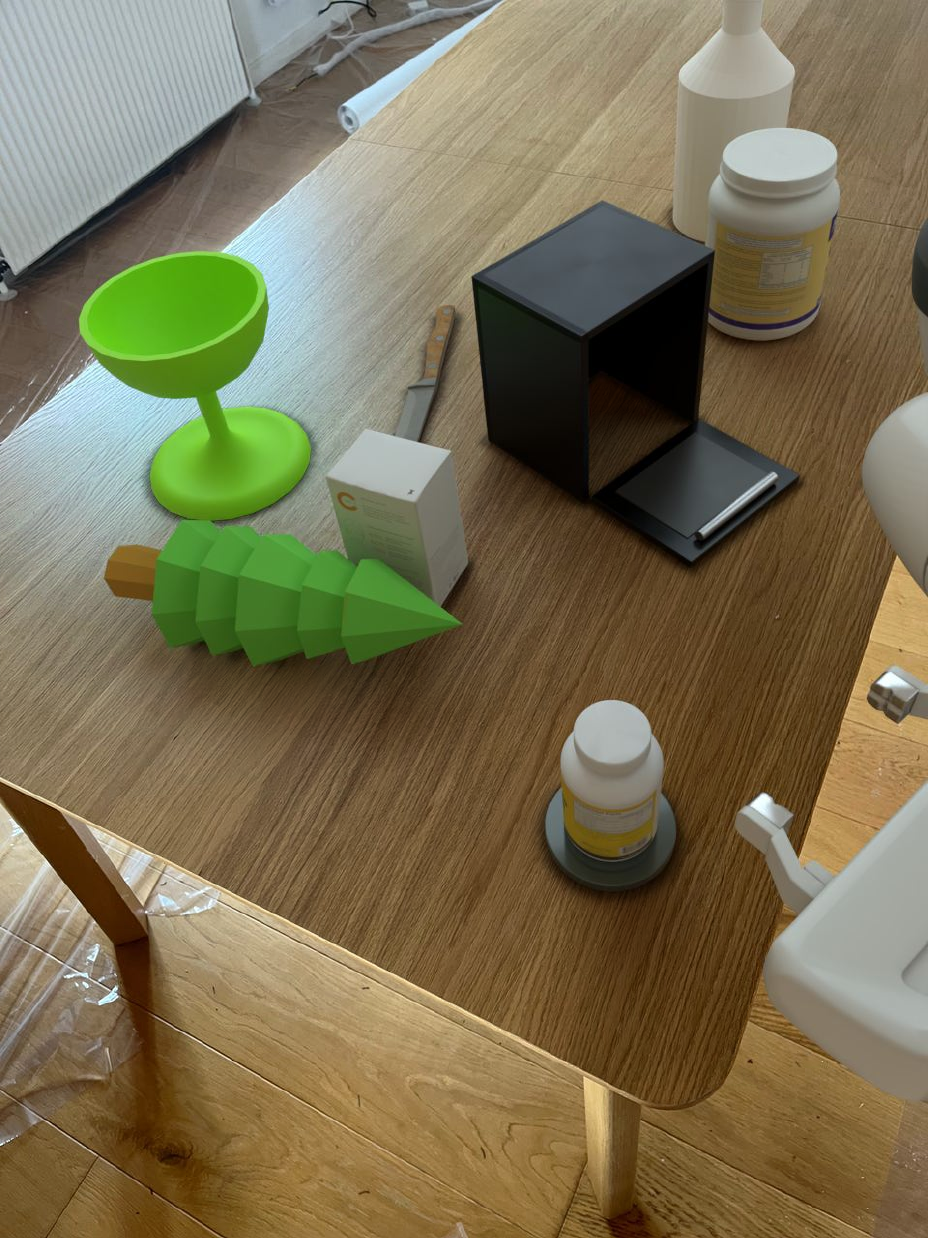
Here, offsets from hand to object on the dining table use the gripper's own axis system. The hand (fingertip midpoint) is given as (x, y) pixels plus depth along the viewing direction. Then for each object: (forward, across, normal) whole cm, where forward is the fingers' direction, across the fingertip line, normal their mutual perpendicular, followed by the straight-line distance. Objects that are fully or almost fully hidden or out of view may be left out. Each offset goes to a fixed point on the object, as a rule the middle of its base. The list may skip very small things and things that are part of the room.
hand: (814, 742), depth 46 cm
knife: (+58, -21, +25) cm, 67 cm away
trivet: (+12, 0, +25) cm, 28 cm away
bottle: (+58, -67, +25) cm, 92 cm away
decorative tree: (+42, +6, +25) cm, 49 cm away
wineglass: (+65, -3, +25) cm, 70 cm away
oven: (+37, -30, +25) cm, 53 cm away
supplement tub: (+43, -55, +25) cm, 74 cm away
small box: (+41, -6, +25) cm, 48 cm away
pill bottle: (+12, 0, +24) cm, 27 cm away
